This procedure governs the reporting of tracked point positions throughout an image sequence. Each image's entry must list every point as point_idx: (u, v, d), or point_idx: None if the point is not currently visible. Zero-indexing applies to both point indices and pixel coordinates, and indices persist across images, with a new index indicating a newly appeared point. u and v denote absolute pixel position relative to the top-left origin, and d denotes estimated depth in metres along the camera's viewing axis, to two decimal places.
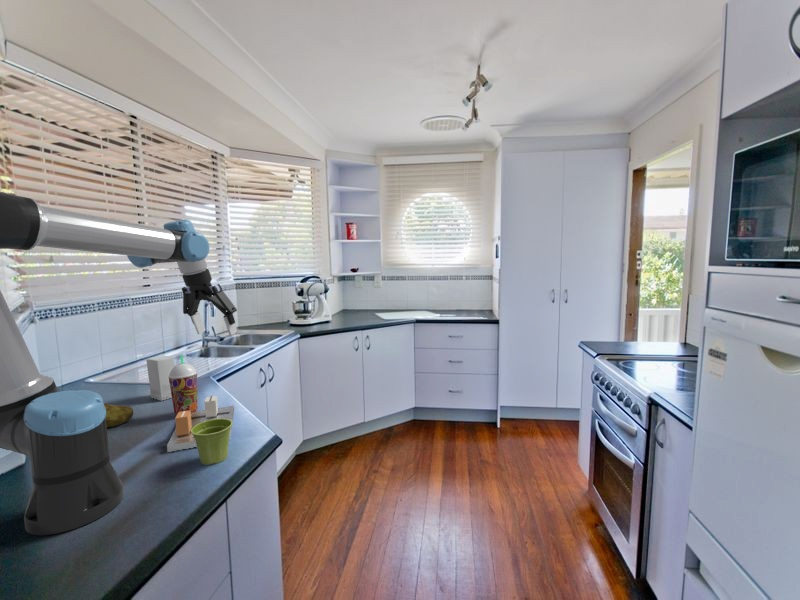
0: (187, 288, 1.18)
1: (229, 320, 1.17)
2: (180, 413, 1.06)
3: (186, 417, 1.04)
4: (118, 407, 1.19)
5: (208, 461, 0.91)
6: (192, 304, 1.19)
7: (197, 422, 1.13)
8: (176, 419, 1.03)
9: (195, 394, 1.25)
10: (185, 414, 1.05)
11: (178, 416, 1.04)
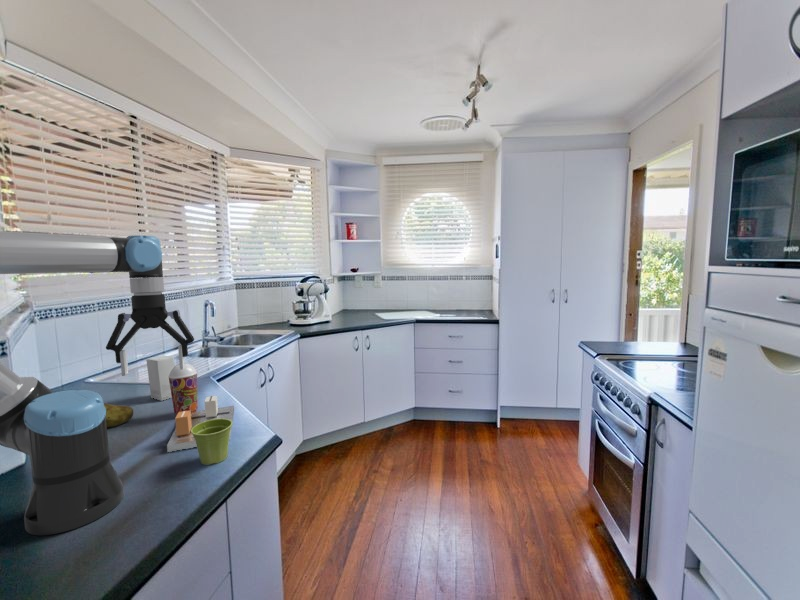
0: (126, 315, 0.99)
1: (184, 351, 1.04)
2: (180, 413, 1.06)
3: (186, 417, 1.04)
4: (118, 407, 1.19)
5: (208, 461, 0.91)
6: (129, 335, 0.99)
7: (197, 422, 1.13)
8: (176, 419, 1.03)
9: (195, 394, 1.25)
10: (185, 414, 1.05)
11: (178, 416, 1.04)
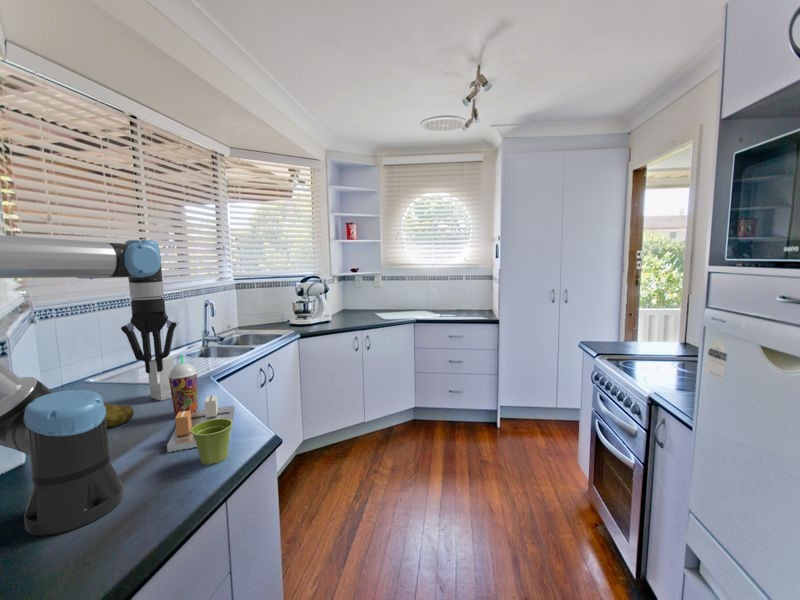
0: (127, 325, 0.99)
1: (159, 366, 1.02)
2: (180, 413, 1.06)
3: (186, 417, 1.04)
4: (118, 407, 1.19)
5: (208, 461, 0.91)
6: (145, 342, 1.00)
7: (197, 422, 1.13)
8: (176, 419, 1.03)
9: (195, 394, 1.25)
10: (185, 414, 1.05)
11: (178, 416, 1.04)
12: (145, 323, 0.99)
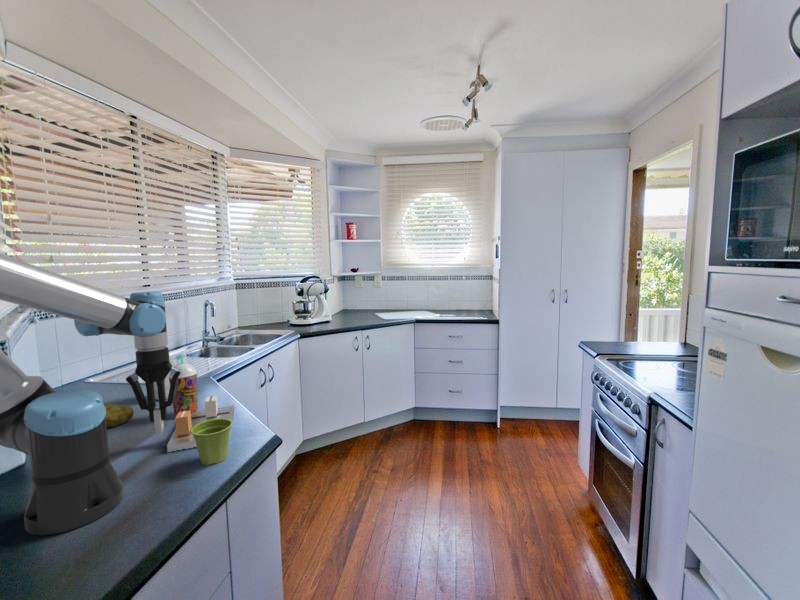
0: (132, 375, 1.00)
1: (162, 414, 1.03)
2: (180, 413, 1.06)
3: (186, 417, 1.04)
4: (118, 407, 1.19)
5: (208, 461, 0.91)
6: (149, 392, 1.01)
7: (197, 422, 1.13)
8: (176, 419, 1.03)
9: (195, 394, 1.25)
10: (185, 414, 1.05)
11: (178, 416, 1.04)
12: (149, 373, 1.00)
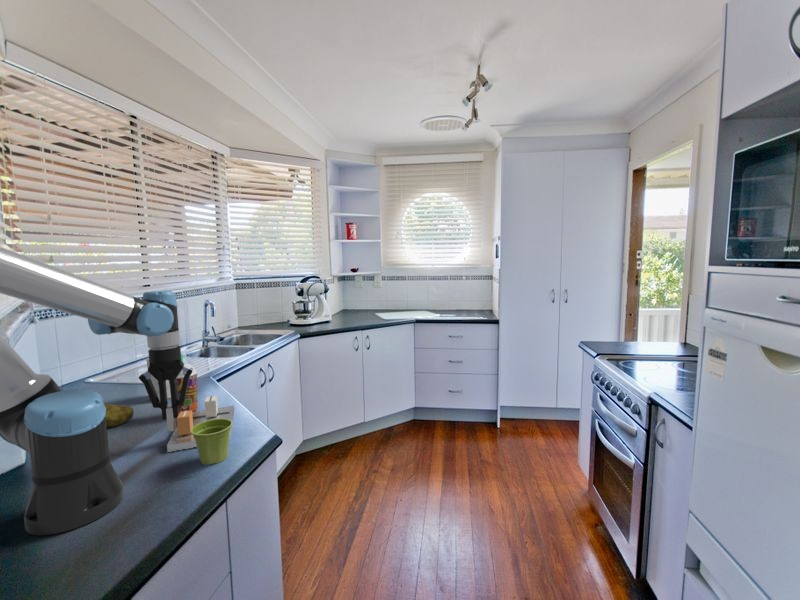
0: (145, 374, 1.01)
1: (175, 412, 1.04)
2: (182, 413, 1.06)
3: (188, 417, 1.04)
4: (118, 407, 1.19)
5: (208, 461, 0.91)
6: (162, 390, 1.02)
7: (197, 422, 1.13)
8: (178, 419, 1.03)
9: (195, 394, 1.25)
10: (187, 414, 1.05)
11: (180, 416, 1.04)
12: (162, 372, 1.02)
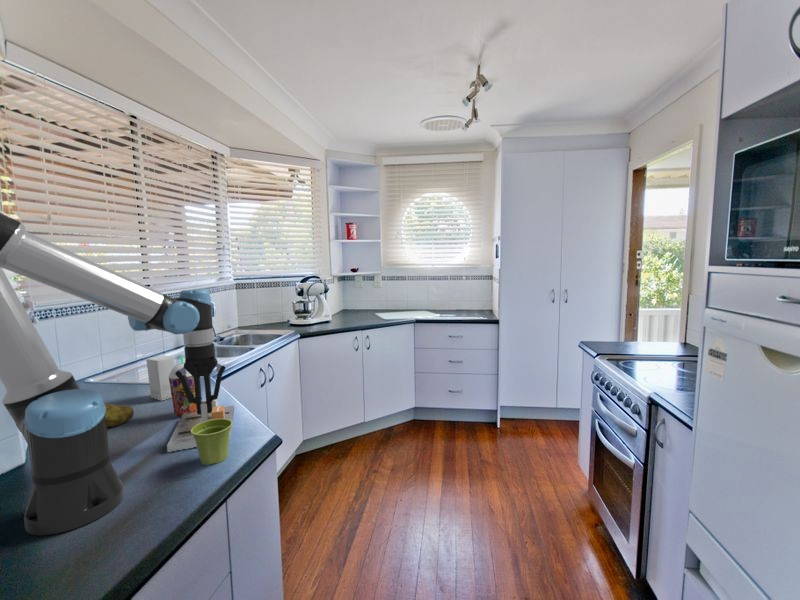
0: (181, 370, 1.04)
1: (209, 408, 1.07)
2: (215, 408, 1.09)
3: (221, 412, 1.07)
4: (118, 407, 1.19)
5: (208, 461, 0.91)
6: (197, 386, 1.05)
7: (197, 422, 1.13)
8: (212, 414, 1.06)
9: None
10: (220, 409, 1.08)
11: (214, 411, 1.07)
12: (197, 368, 1.05)
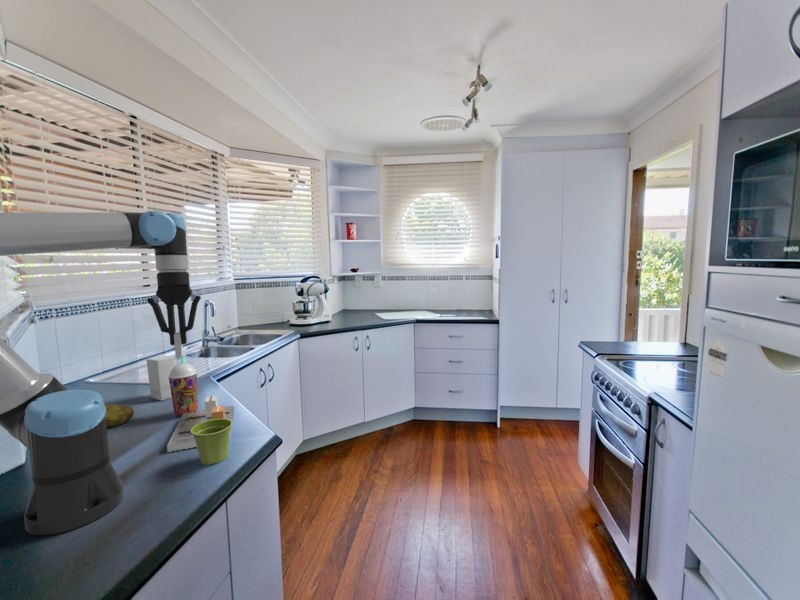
0: (153, 297, 1.00)
1: (183, 338, 1.03)
2: (215, 408, 1.09)
3: (222, 412, 1.07)
4: (118, 407, 1.19)
5: (208, 461, 0.91)
6: (170, 315, 1.01)
7: (197, 422, 1.13)
8: (212, 413, 1.06)
9: (195, 394, 1.25)
10: (220, 409, 1.08)
11: (214, 411, 1.07)
12: (170, 295, 1.01)
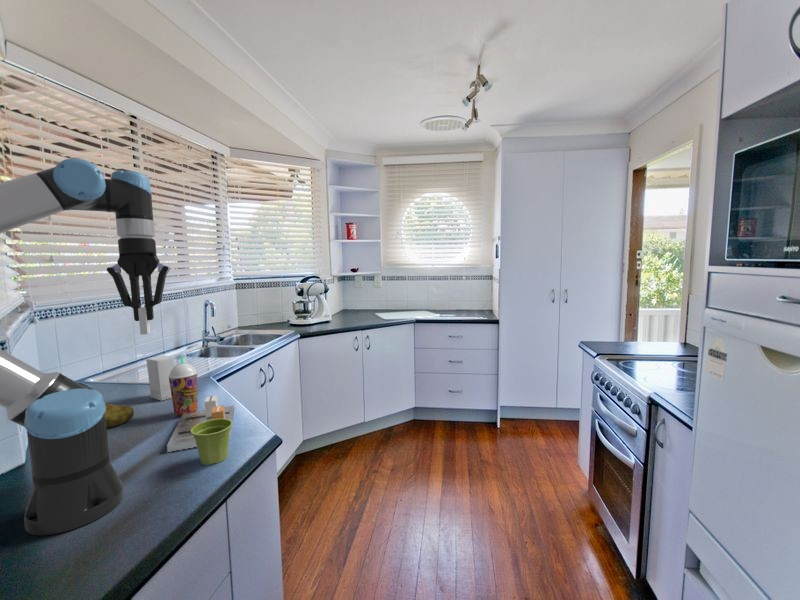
0: (114, 266, 0.89)
1: (149, 314, 0.92)
2: (215, 408, 1.09)
3: (222, 412, 1.07)
4: (118, 407, 1.19)
5: (208, 461, 0.91)
6: (133, 286, 0.90)
7: (197, 422, 1.13)
8: (212, 413, 1.06)
9: (195, 394, 1.25)
10: (220, 409, 1.08)
11: (214, 411, 1.07)
12: (134, 265, 0.90)
